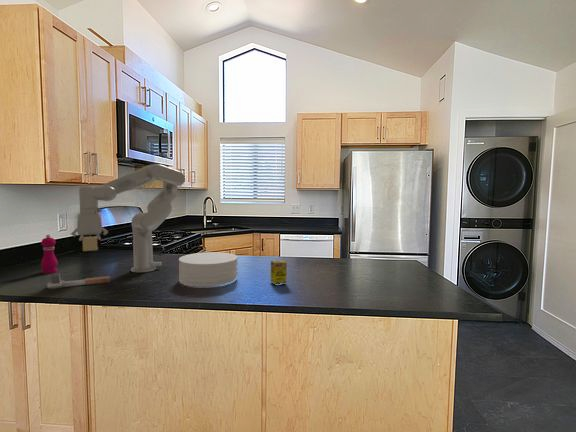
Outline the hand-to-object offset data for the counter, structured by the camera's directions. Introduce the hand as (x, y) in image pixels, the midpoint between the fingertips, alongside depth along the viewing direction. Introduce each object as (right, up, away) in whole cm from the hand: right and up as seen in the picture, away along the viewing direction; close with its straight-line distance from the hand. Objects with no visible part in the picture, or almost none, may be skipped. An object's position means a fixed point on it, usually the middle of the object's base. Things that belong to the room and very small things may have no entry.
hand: (90, 247), depth 155 cm
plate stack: (+58, -17, +2) cm, 60 cm away
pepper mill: (-29, -14, +12) cm, 34 cm away
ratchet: (0, -16, -9) cm, 19 cm away
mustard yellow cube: (0, -1, 0) cm, 1 cm away
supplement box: (+93, -17, -3) cm, 94 cm away
